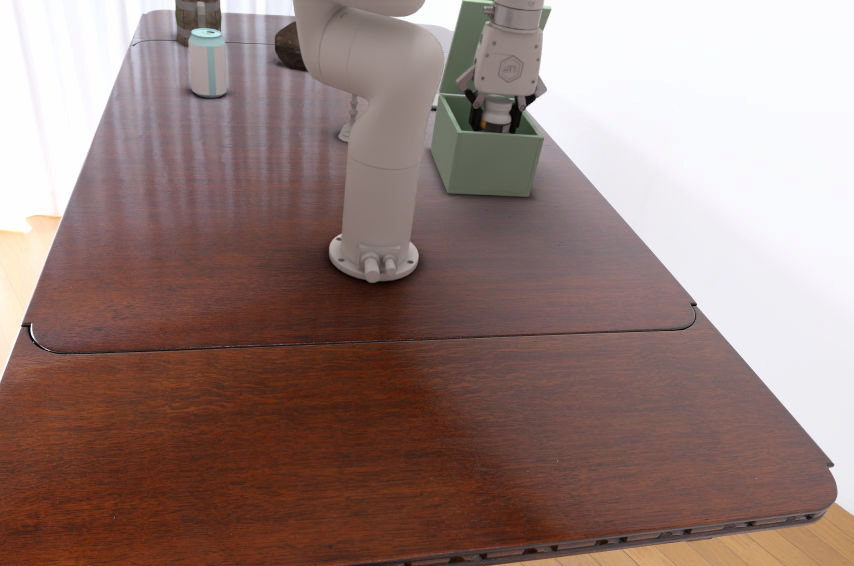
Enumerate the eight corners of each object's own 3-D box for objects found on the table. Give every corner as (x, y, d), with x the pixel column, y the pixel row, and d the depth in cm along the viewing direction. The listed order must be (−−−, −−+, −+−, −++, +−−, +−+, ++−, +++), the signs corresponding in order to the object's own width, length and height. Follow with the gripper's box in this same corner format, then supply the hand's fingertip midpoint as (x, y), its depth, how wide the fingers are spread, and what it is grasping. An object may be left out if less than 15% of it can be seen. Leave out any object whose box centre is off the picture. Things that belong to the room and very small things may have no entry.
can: (189, 87, 141) (185, 26, 134) (224, 86, 144) (221, 27, 137) (194, 99, 136) (190, 37, 129) (229, 98, 139) (227, 37, 132)
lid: (551, 9, 109) (545, -12, 112) (463, 0, 106) (459, -21, 109) (517, 98, 124) (512, 78, 127) (439, 93, 122) (436, 72, 125)
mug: (175, 34, 170) (171, -18, 162) (220, 36, 173) (218, -15, 166) (179, 54, 158) (175, -2, 151) (227, 55, 161) (225, 1, 154)
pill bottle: (465, 156, 117) (475, 99, 111) (478, 146, 121) (488, 90, 115) (496, 165, 115) (508, 108, 109) (507, 155, 119) (520, 99, 113)
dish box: (529, 197, 117) (544, 137, 111) (447, 193, 115) (457, 132, 109) (504, 154, 131) (516, 99, 125) (430, 150, 129) (438, 94, 123)
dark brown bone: (303, 81, 158) (322, 61, 183) (327, 42, 154) (343, 27, 178) (263, 52, 156) (287, 36, 180) (287, 11, 151) (308, 1, 175)
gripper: (466, 18, 100) (447, 136, 111) (576, 28, 103) (547, 142, 113) (456, 6, 106) (439, 118, 116) (560, 15, 108) (534, 124, 119)
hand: (492, 129), depth 115 cm, fingers closed on pill bottle, 5 cm apart
